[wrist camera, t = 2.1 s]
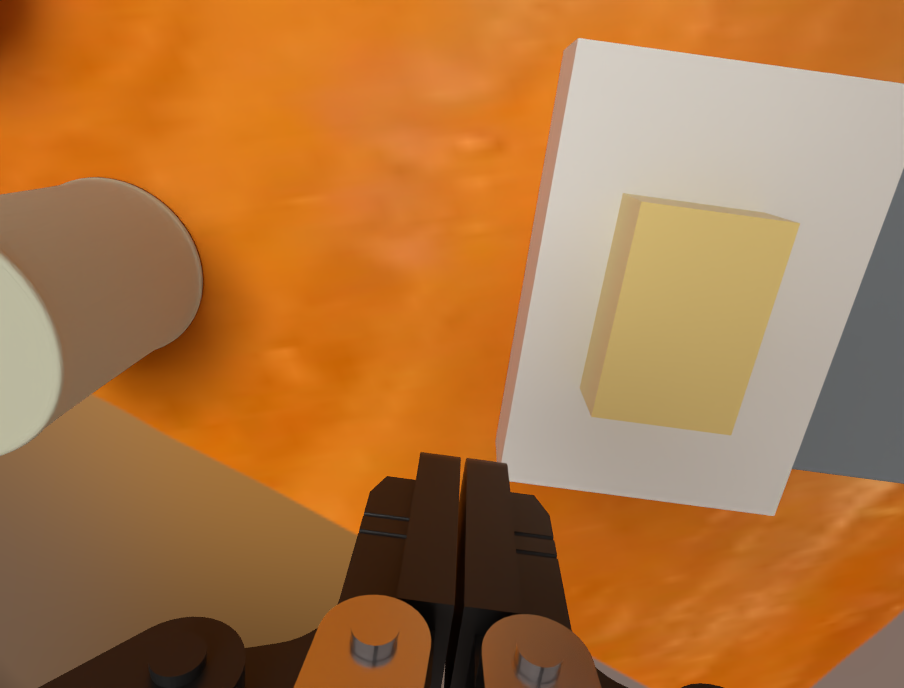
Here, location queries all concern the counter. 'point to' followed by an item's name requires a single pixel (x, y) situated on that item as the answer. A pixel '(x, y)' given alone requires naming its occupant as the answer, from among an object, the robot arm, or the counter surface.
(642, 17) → the counter surface
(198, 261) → the can
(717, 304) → the yellow block
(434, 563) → the robot arm
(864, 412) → the tray
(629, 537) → the counter surface
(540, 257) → the white flat block
